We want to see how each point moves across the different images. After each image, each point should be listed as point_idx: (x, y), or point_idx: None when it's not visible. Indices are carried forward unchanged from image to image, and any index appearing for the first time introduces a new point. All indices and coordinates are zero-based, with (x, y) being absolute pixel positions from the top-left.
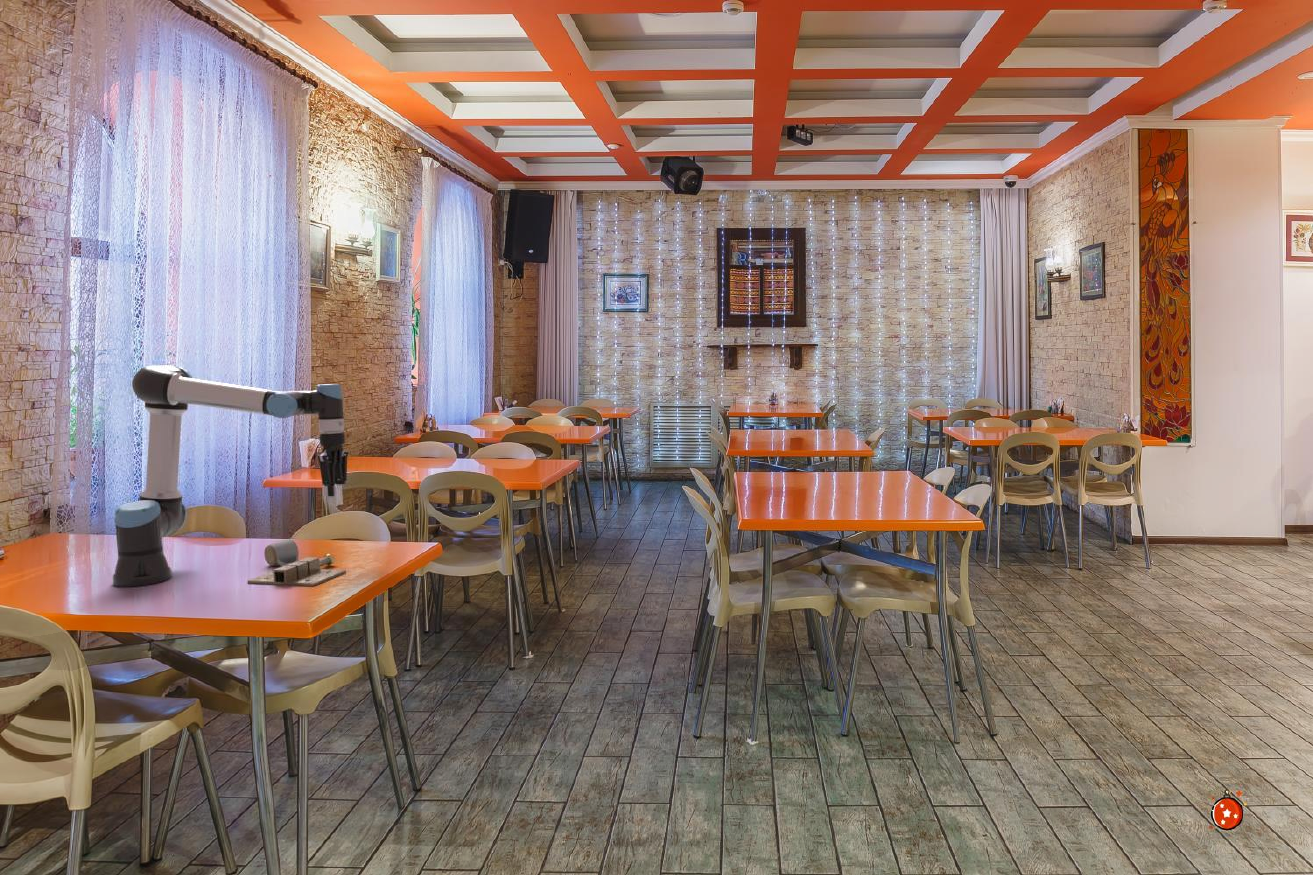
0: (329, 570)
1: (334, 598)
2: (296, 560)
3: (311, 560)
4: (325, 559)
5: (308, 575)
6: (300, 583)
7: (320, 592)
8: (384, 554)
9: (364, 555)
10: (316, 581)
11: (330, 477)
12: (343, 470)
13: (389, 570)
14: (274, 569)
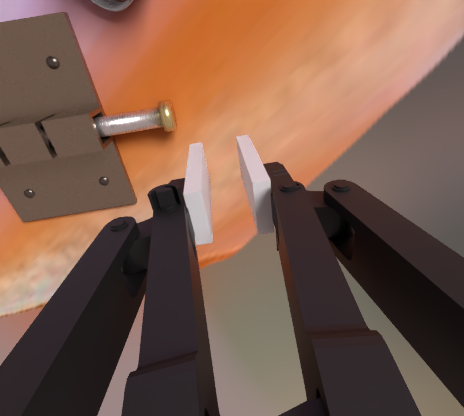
0: (114, 173)
1: (9, 296)
2: (122, 6)
3: (69, 155)
4: (144, 128)
5: (56, 162)
6: (7, 195)
7: (12, 257)
8: (307, 160)
9: (289, 119)
10: (37, 216)
11: (138, 304)
12: (369, 286)
13: None
14: None
